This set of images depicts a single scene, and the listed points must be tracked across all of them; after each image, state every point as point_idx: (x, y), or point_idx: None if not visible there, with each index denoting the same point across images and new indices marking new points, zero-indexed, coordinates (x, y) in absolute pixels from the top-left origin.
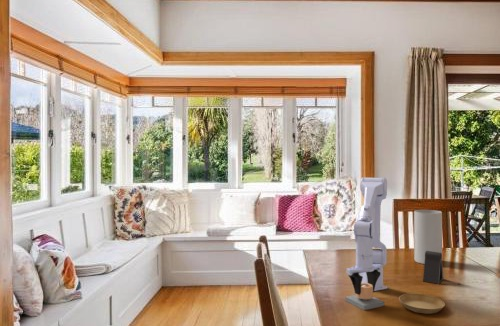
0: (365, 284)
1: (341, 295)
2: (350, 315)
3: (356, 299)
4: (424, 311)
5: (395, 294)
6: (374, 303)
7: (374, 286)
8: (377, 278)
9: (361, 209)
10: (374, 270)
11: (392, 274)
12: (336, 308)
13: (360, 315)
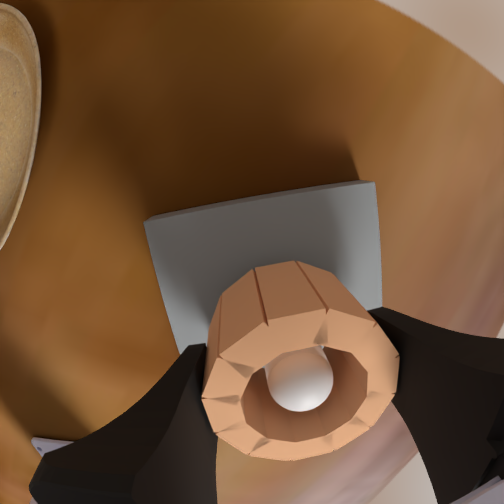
0: (259, 429)
1: None
2: (471, 138)
3: None
4: (5, 25)
5: (11, 369)
6: (258, 200)
7: (176, 370)
8: (110, 430)
9: None
10: None
11: (6, 497)
12: (479, 265)
13: (425, 110)
